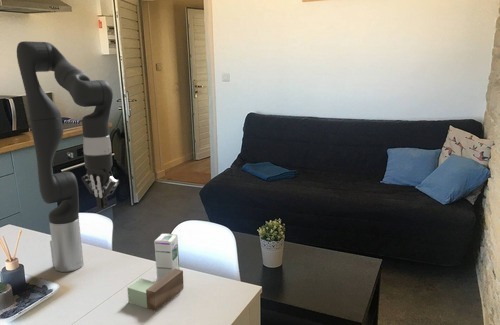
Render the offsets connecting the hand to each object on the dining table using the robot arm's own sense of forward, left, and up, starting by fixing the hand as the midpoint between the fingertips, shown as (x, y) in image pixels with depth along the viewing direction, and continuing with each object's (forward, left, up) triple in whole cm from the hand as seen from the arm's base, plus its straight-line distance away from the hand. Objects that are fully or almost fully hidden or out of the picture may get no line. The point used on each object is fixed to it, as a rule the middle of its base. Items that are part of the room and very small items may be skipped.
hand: (102, 208), depth 126 cm
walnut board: (+19, +4, -27) cm, 33 cm away
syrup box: (+12, +14, -27) cm, 33 cm away
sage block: (+13, 0, -27) cm, 30 cm away
